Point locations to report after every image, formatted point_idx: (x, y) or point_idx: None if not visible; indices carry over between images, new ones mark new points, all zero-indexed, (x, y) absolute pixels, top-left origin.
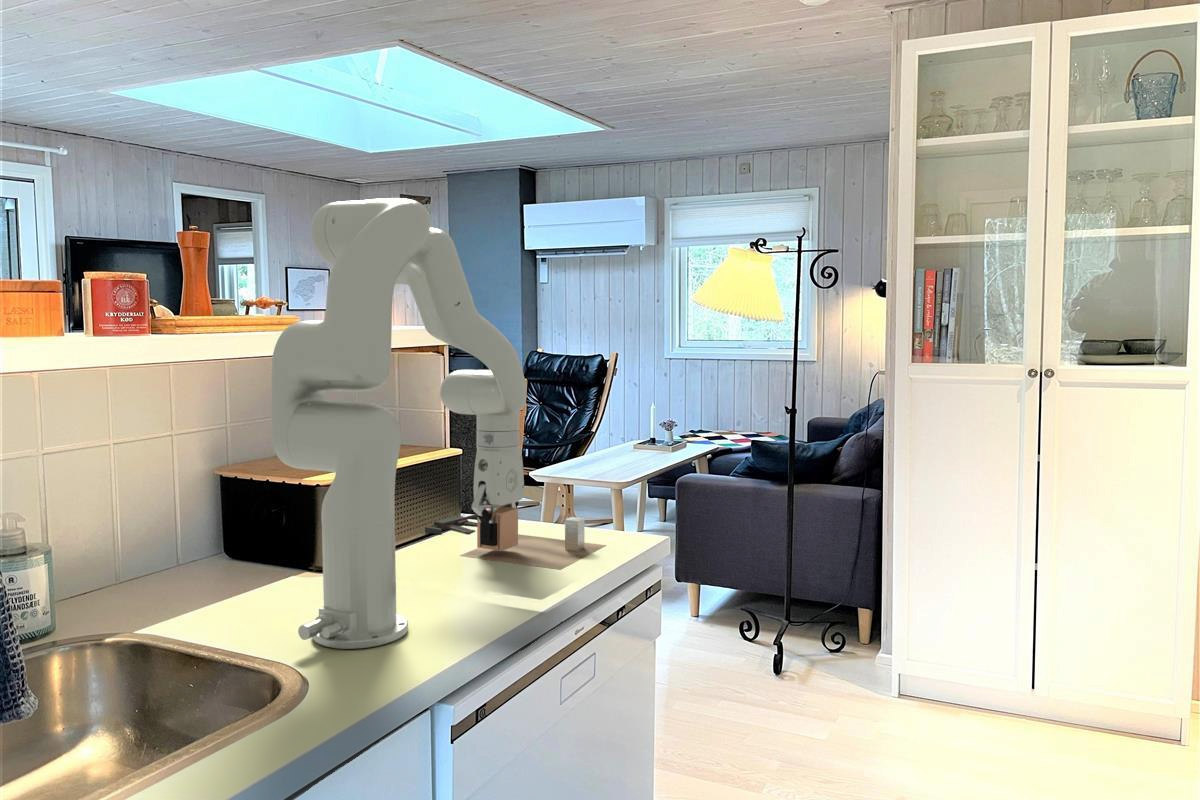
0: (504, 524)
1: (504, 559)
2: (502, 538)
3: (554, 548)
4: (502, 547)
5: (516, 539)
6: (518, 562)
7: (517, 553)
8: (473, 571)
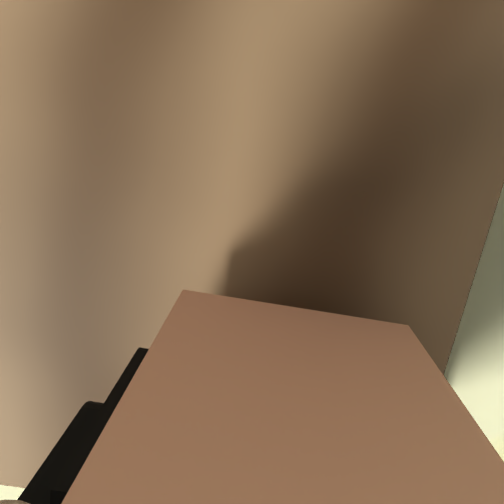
0: (468, 474)
1: (422, 278)
2: (445, 378)
3: (10, 32)
4: (416, 337)
5: (196, 311)
6: (482, 155)
7: (248, 254)
8: (500, 391)
